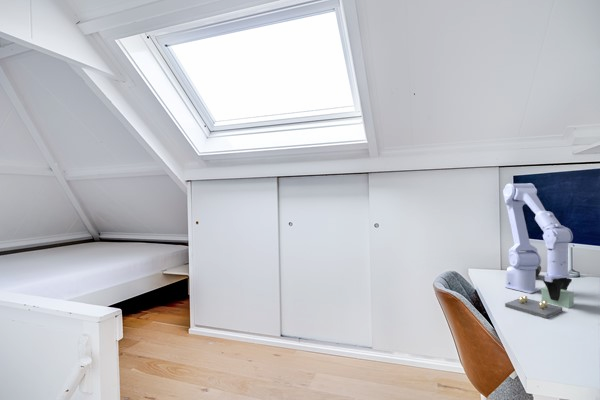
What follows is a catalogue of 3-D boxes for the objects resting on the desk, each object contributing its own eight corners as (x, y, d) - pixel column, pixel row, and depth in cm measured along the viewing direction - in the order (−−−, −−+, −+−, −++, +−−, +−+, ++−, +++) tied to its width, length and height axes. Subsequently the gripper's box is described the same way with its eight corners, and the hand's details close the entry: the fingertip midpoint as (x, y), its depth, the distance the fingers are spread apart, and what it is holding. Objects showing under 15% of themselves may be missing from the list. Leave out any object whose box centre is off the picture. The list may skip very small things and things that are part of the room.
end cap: (539, 280, 140) (539, 265, 139) (520, 278, 144) (520, 263, 144) (541, 276, 147) (541, 262, 147) (523, 273, 152) (523, 260, 152)
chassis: (505, 306, 108) (505, 297, 108) (522, 300, 114) (522, 291, 114) (545, 318, 98) (545, 308, 98) (562, 310, 104) (562, 301, 104)
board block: (541, 301, 113) (541, 287, 113) (546, 299, 115) (546, 286, 115) (568, 308, 106) (568, 293, 106) (573, 305, 108) (573, 291, 108)
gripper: (562, 265, 103) (562, 306, 104) (580, 260, 111) (579, 298, 111) (537, 262, 109) (537, 299, 110) (556, 257, 117) (556, 293, 117)
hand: (557, 298), depth 111 cm, fingers closed on board block, 4 cm apart
